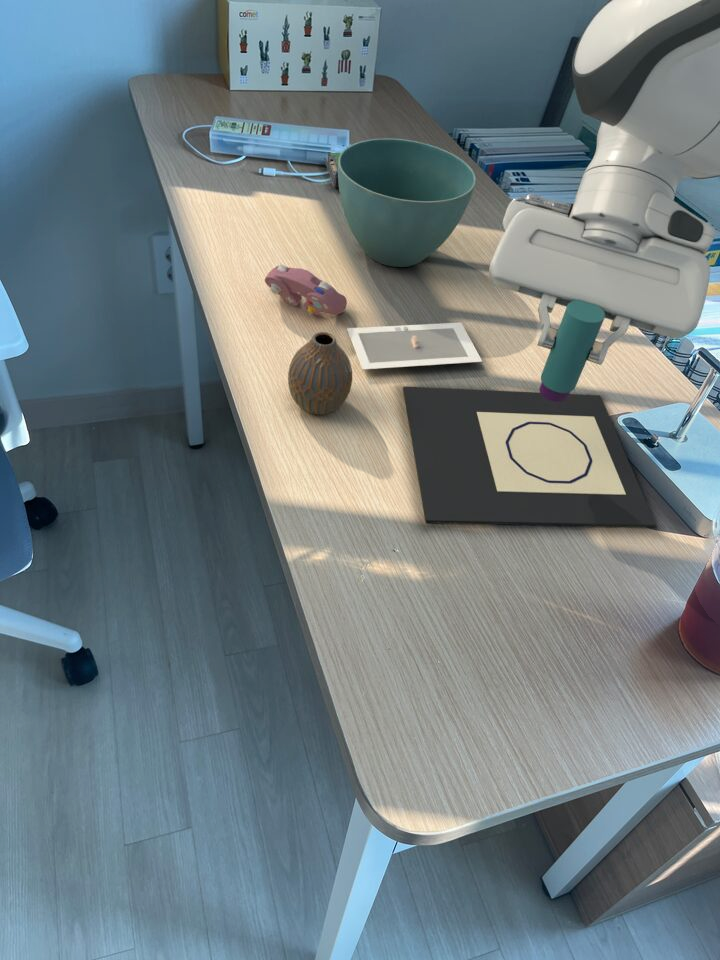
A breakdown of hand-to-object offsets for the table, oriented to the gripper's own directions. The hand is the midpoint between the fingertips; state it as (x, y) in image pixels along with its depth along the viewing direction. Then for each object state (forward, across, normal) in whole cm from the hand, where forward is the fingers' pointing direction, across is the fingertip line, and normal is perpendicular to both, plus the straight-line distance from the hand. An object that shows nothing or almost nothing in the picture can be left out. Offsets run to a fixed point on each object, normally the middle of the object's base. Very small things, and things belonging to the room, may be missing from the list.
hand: (569, 354), depth 73 cm
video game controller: (+1, -32, +18) cm, 37 cm away
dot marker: (+3, 0, +4) cm, 5 cm away
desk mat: (+10, -1, +9) cm, 13 cm away
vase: (+12, -24, +7) cm, 28 cm away
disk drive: (-27, -37, +46) cm, 65 cm away
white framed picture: (+2, -17, +17) cm, 24 cm away
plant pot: (-13, -26, +32) cm, 43 cm away
